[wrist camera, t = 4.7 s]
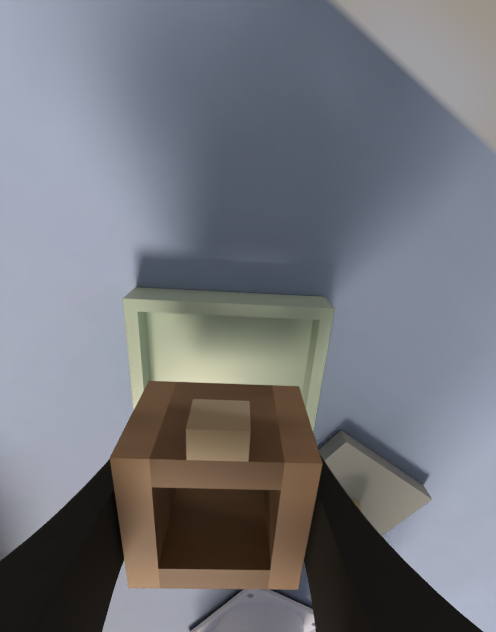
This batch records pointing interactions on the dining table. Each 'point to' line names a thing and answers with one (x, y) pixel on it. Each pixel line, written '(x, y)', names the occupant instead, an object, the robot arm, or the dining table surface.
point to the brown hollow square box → (216, 486)
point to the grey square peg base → (373, 482)
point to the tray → (228, 339)
